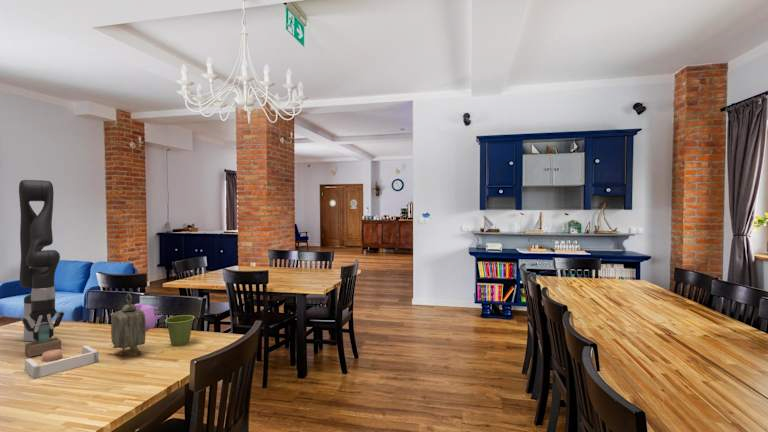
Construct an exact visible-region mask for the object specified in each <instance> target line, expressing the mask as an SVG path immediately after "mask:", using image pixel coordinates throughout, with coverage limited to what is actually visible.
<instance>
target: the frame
mask: <svg viewBox="0 0 768 432" xmlns="http://www.w3.org/2000/svg"><path fill="white" fill-rule="evenodd" d="M81 347H82V348H81V349H82V350H81V353H82V354H78V355H75V356H71V357H66V358H63V359H62V358H61V359H59V360H56V361H51V362H44V363H41V364H38V363H37V362H36V361H35V360H33V359H31V357H29V358H26V359H24V371H25V372H26V373H28V375H30V376H31V378H33V379H38V378H42V377H45V376H49V375H53V374H57V373H62V372H65V371H68V370H73V369H76V368H80V367H83V366H87V365H91V364H95V363H99V361H100V360H99V355H100V353H99V351H98V350H96V349H95V348H92V347H91V346H89V345H82V346H81Z"/></svg>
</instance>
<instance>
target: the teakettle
mask: <svg viewBox="0 0 768 432" xmlns="http://www.w3.org/2000/svg"><path fill="white" fill-rule="evenodd" d="M133 305H135V307H136V308H139V309H141V310H142V311H143V312H144V313H145V324H146V330H151V329H154V328H155V326H156V320H159V319H160V318H162V314H161V315H156V314H155V310H157V309H158V307H154V306H155V305H154V306H151V304H143V303H135V304H133ZM114 313H115V312H112V313H110V316H111V317H112V314H114ZM150 328H151V329H150Z"/></svg>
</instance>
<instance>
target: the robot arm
mask: <svg viewBox="0 0 768 432" xmlns="http://www.w3.org/2000/svg"><path fill="white" fill-rule="evenodd" d="M18 194H19V195H18V198H19V207H20V209H19V211H20V227H19V229H20V230H19V241H20V243H19V245H20V265H19V266H20V267H19V285H20V287H21V288H22V289H29V288H31V292H30V294H27V295H26V296H24V298H23V317H22V318H21V319H20V321H21V322H22V324H23V341H24V342H35V341H38V340H39V332H38V329H39V326H40V324H45V323H47V324H49V339H50V338H53V337H54V329H55V328H57V327H59V326H60V324H61V322H62V321H63V317H64V315H65V312H64V311H57V310H56V289H55V275H56V271H57V268H58V265H59V263H60V260H61V254H60V252H58V251H57V250H55V249H48V250H47V249H46V250H44V248H45V247H49V246H51V245H52V244H53V243H54V242H53V241H54V238H53V226H52V224H53V213H54V212H53V211H54V185H53V183H52V182H51V181H50V180H41V179H40V180H39V179H22V180H21V181H20V182H19V185H18ZM30 202H43V207H42V209H41V210H40V212H39V213H38V215H37V214H36V212H35V211H34V209H33V208H32V206H31V204H30ZM55 316H56V318H55V320H54V323H53V319H54V317H55Z"/></svg>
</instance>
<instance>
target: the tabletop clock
mask: <svg viewBox="0 0 768 432" xmlns="http://www.w3.org/2000/svg"><path fill="white" fill-rule="evenodd" d="M128 296H129V298H130V299H129V300H128ZM125 298H126V302H127V304H125V305H124V306H123V307H122V309H121V310H117V311H115V312H113V313H114V314H112V313H111V314H112V316H111V319H110V321H111V324H110V325H111V326H110V327H111V328H110V331H111V335H110V337H111V343H112V344H113V346H114V345H115V346H116V347H118V348H117V349H121V351H120V352H119V354H120V356H124V355H125V354H126V353H125V349H128V348H129V349H131V350H132V349H135V350H136V355H137V356H140V355H141V354H142V353H143V352H142V351H141V350H139V348H138V346H141V345H145V344H146V333H147V332H146V330H147V329H146V324H145V313H144V312H143V311H142V310H141V309H139V308H136V307H135V305H134V304H133V303H132V301H133V297H132V295H131V293H128V292H127V293H126V297H125Z"/></svg>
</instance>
